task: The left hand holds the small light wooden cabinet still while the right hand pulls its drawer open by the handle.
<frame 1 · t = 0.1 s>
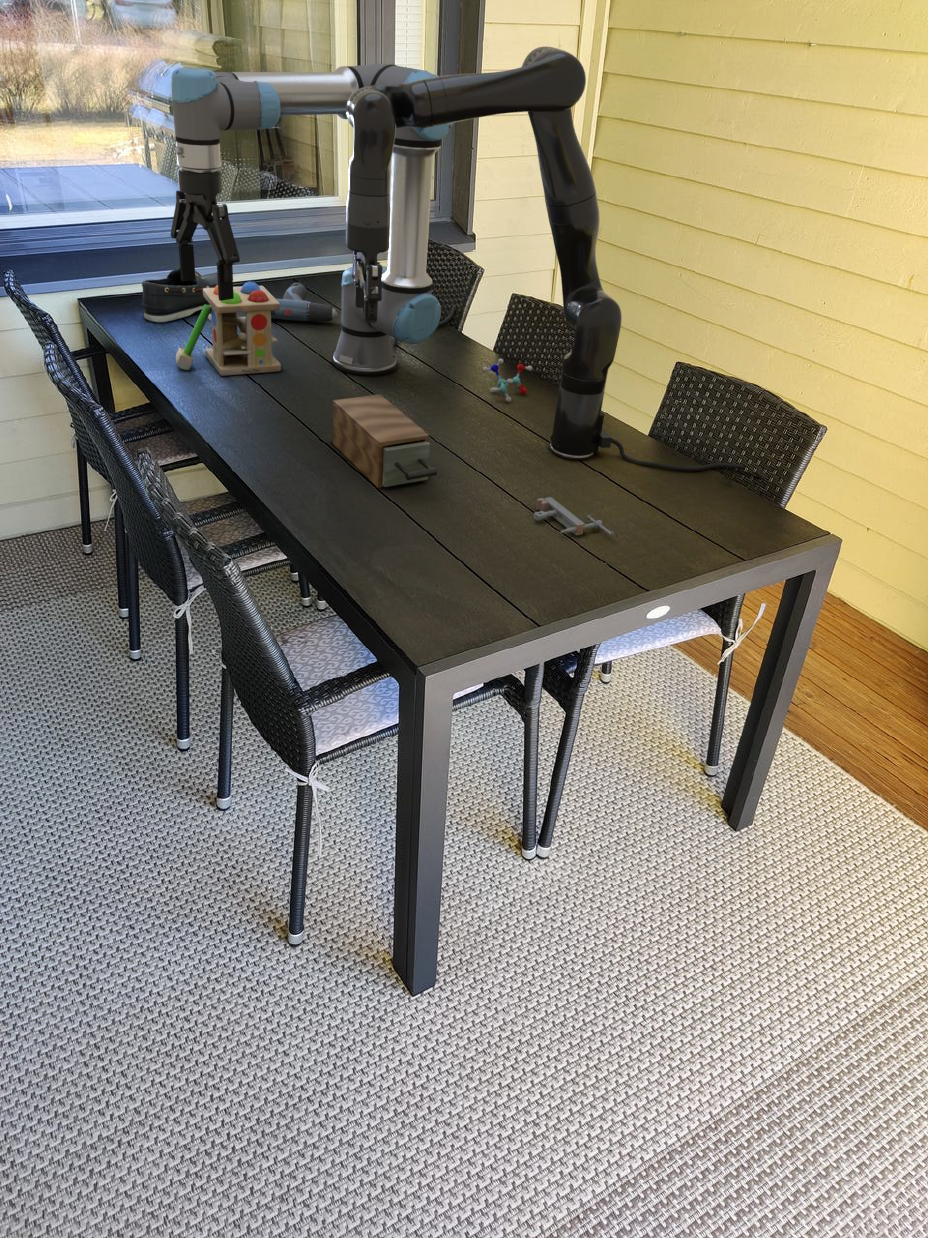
left hand: (206, 289, 186), 28 cm above the table, tool pointing down, fingers open, 13 cm apart
right hand: (365, 314, 177), 29 cm above the table, tool pointing down, fingers open, 8 cm apart
drawer: (391, 450, 188), point 5 cm above the table, slide at 0.6 cm
power drill: (305, 313, 267), on the table
clamp: (567, 526, 179), on the table
molecular model: (503, 395, 229), on the table
pounding bench toy: (225, 365, 230), on the table
boat shoe: (190, 306, 263), on the table
cabinet: (378, 460, 195), on the table
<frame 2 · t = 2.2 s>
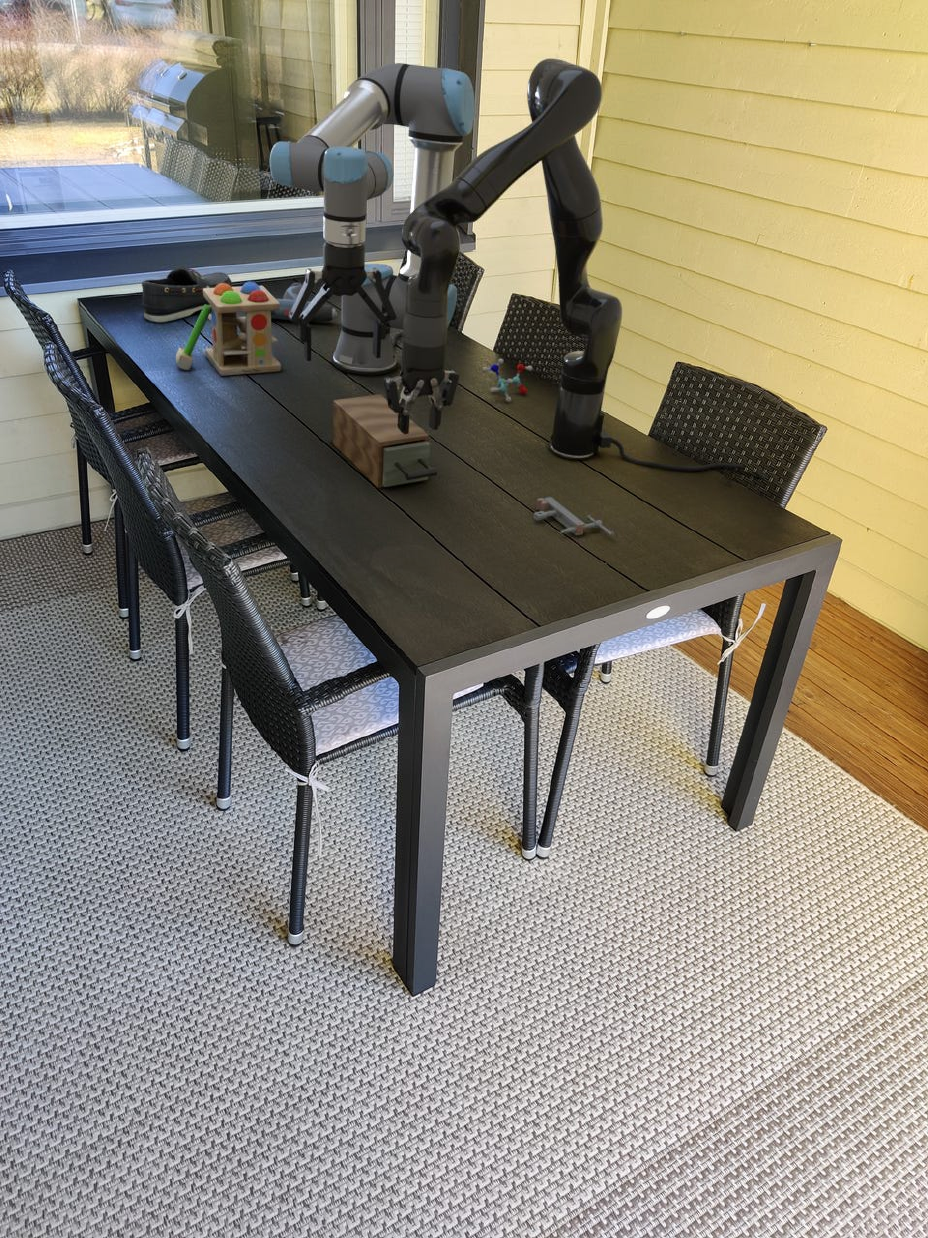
left hand: (342, 357, 189), 18 cm above the table, tool pointing down, fingers open, 13 cm apart
right hand: (418, 429, 177), 13 cm above the table, tool pointing down, fingers open, 5 cm apart
nothing on the table moved.
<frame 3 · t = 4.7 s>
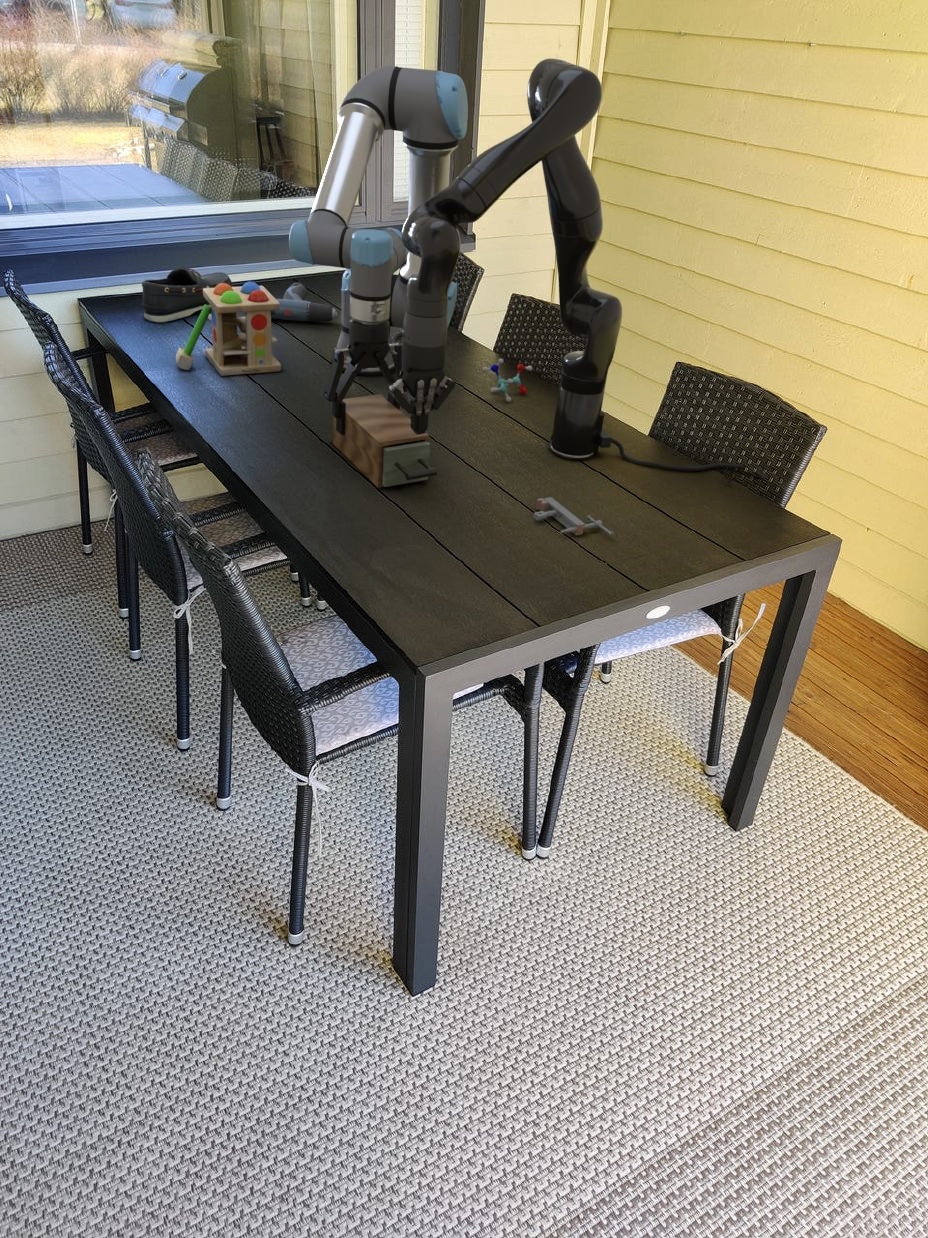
left hand: (366, 428, 196), 4 cm above the table, tool pointing down, fingers closed on cabinet, 10 cm apart
right hand: (418, 432, 177), 13 cm above the table, tool pointing down, fingers closed
cabinet: (378, 460, 195), on the table, touching left hand
everything else where it was.
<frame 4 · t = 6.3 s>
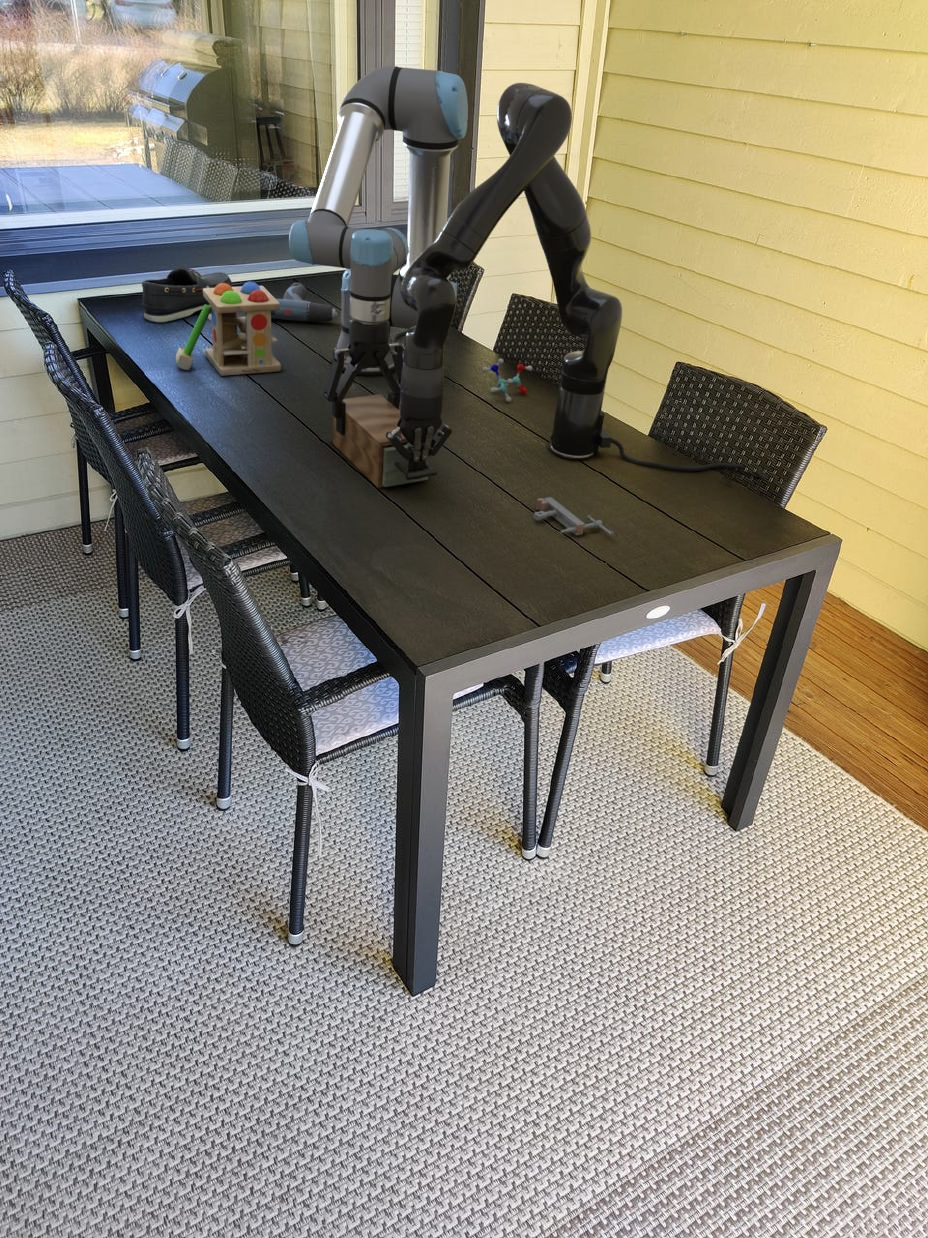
left hand: (366, 428, 196), 4 cm above the table, tool pointing down, fingers closed on cabinet, 10 cm apart
right hand: (416, 477, 182), 4 cm above the table, tool pointing down, fingers closed
drawer: (391, 450, 188), point 5 cm above the table, slide at 0.6 cm, touching right hand
cabinet: (378, 460, 195), on the table, touching left hand
everything else where it was.
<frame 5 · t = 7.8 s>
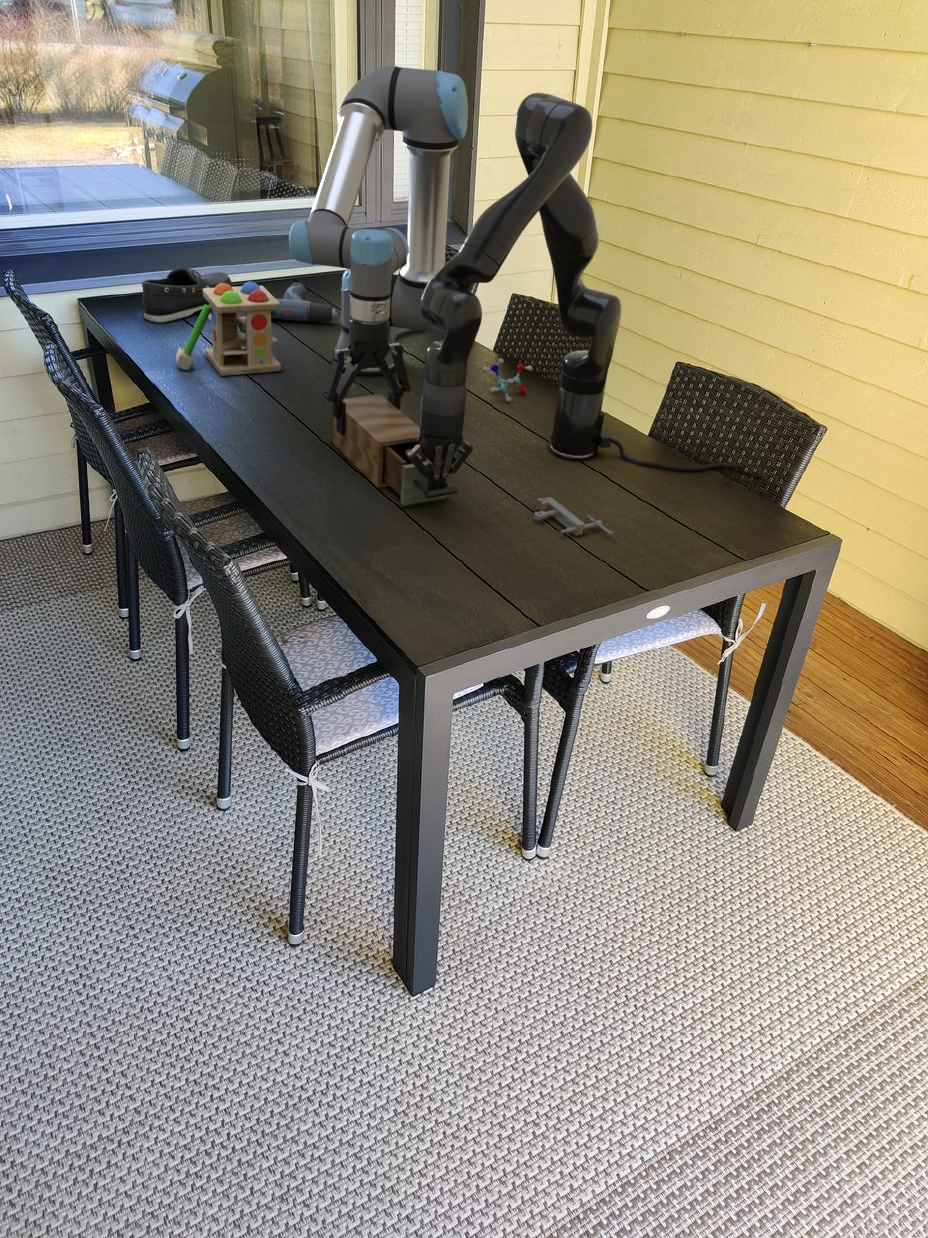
left hand: (366, 428, 196), 4 cm above the table, tool pointing down, fingers closed on cabinet, 10 cm apart
right hand: (435, 495, 176), 4 cm above the table, tool pointing down, fingers closed
drawer: (409, 466, 183), point 5 cm above the table, slide at 8.2 cm, touching right hand
cabinet: (378, 460, 195), on the table, touching left hand
everything else where it was.
when the left hand's fingers open (4 cm above the table, at t = 9.6 s): cabinet stays where it is, on the table.
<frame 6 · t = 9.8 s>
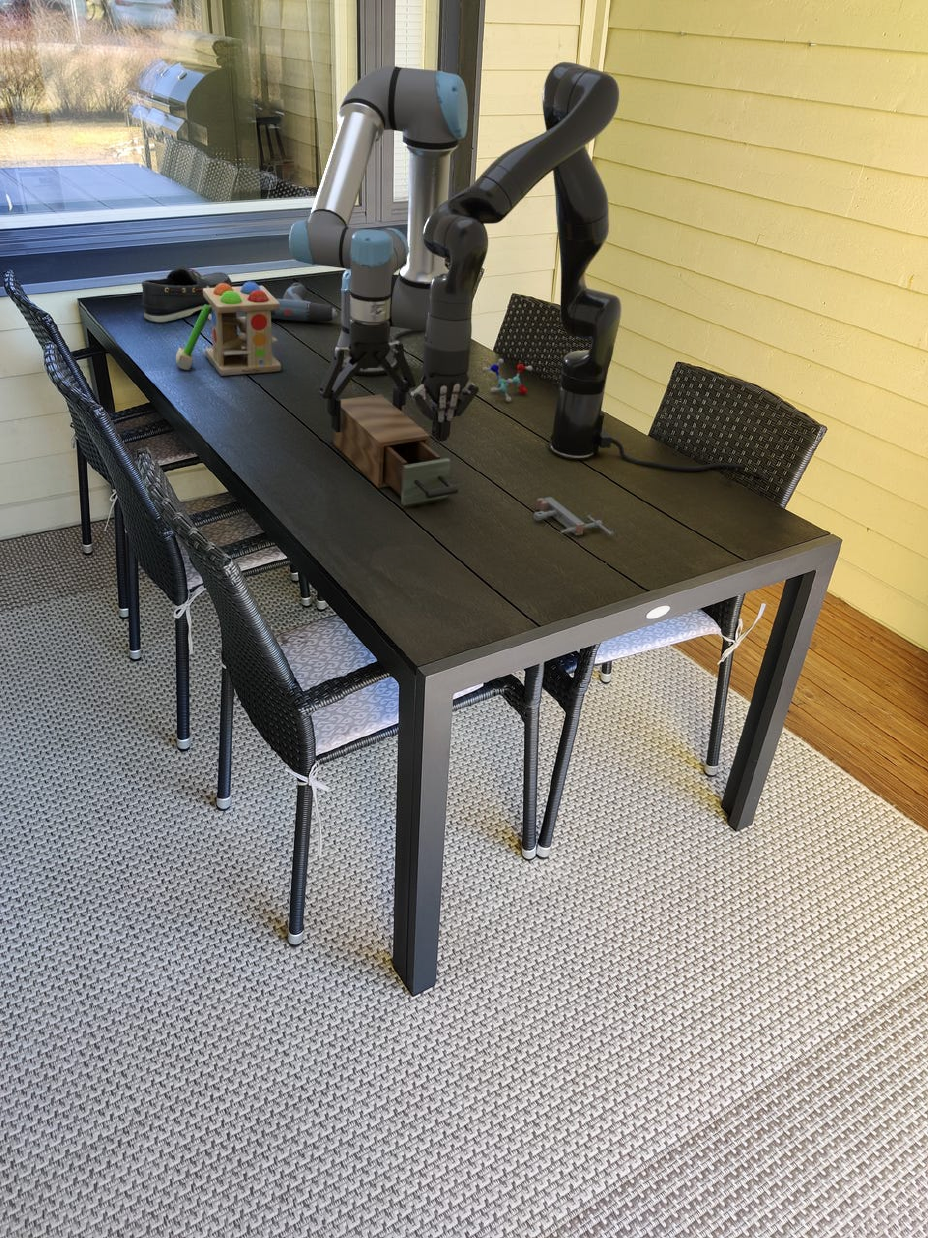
left hand: (366, 425, 196), 5 cm above the table, tool pointing down, fingers open, 13 cm apart
right hand: (440, 439, 170), 15 cm above the table, tool pointing down, fingers closed
drawer: (409, 466, 183), point 5 cm above the table, slide at 8.2 cm
cabinet: (378, 460, 195), on the table
everything else where it was.
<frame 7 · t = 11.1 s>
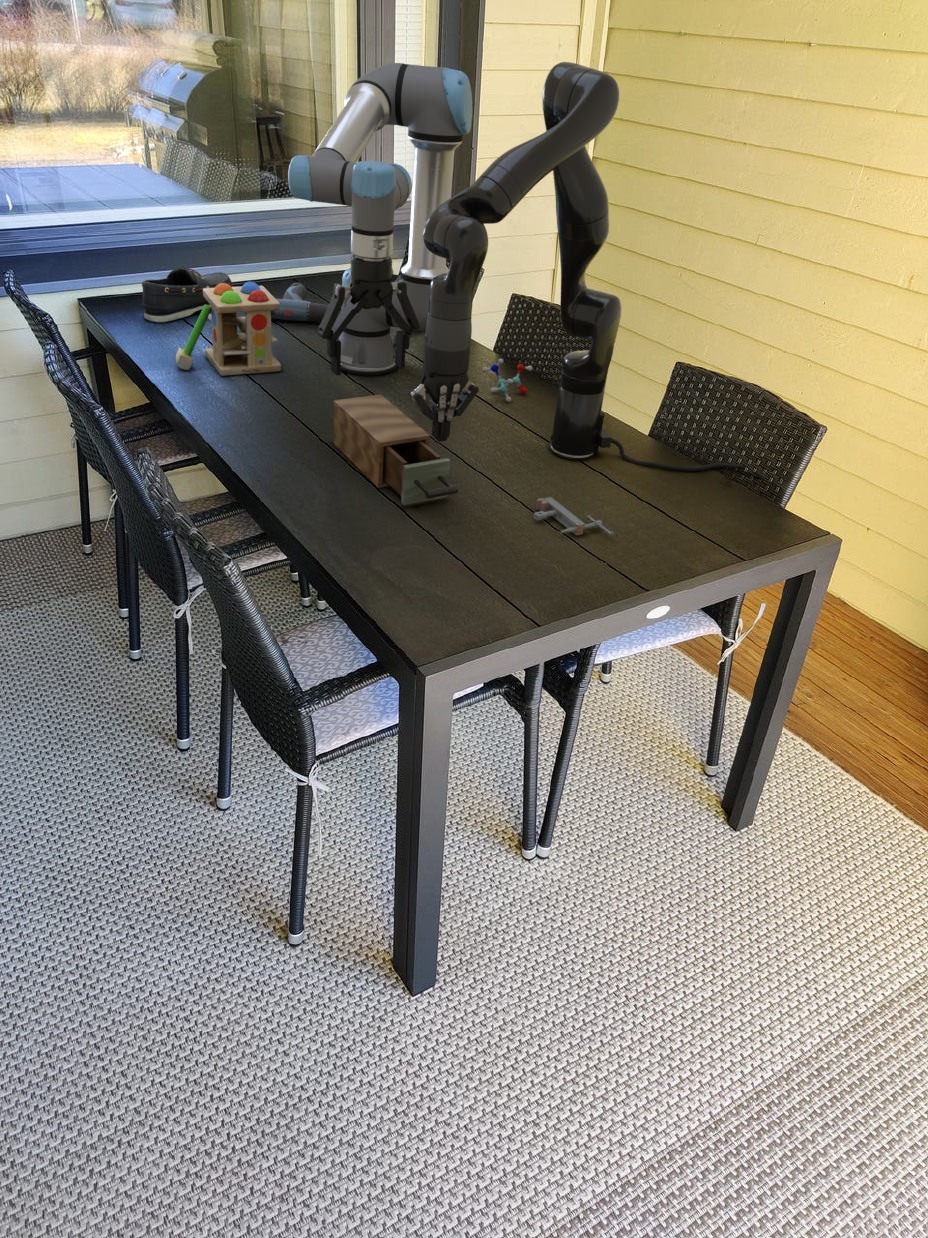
left hand: (368, 369, 189), 17 cm above the table, tool pointing down, fingers open, 13 cm apart
right hand: (440, 439, 170), 15 cm above the table, tool pointing down, fingers closed
nothing on the table moved.
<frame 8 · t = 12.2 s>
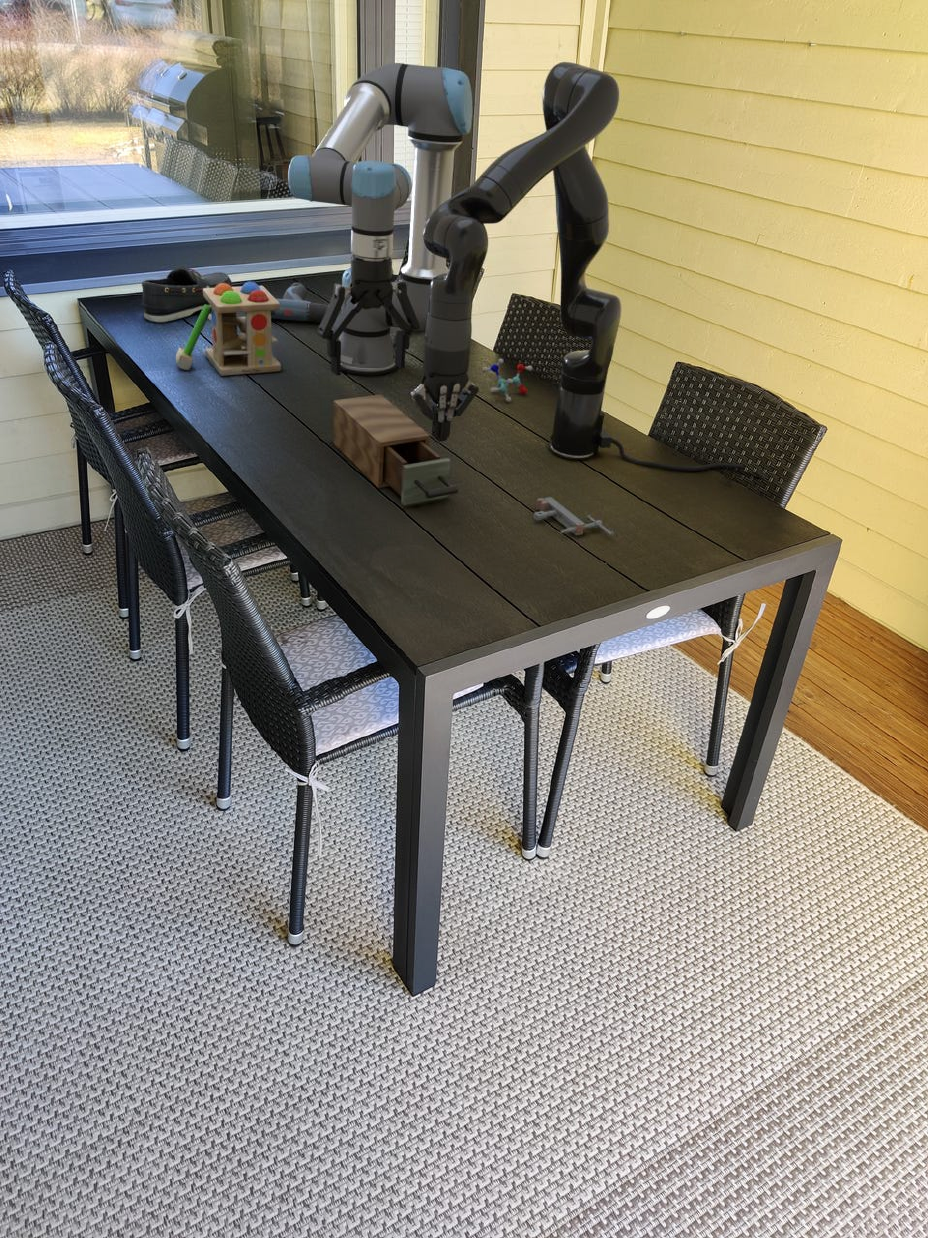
left hand: (368, 369, 189), 17 cm above the table, tool pointing down, fingers open, 13 cm apart
right hand: (440, 439, 170), 15 cm above the table, tool pointing down, fingers closed
nothing on the table moved.
at the end: drawer slide at 8.2 cm; cabinet tilted 0°; cabinet never tilted more than 1° during the clip; cabinet moved 0.1 cm from its start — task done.
